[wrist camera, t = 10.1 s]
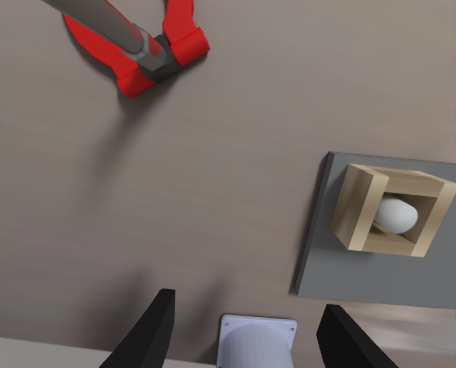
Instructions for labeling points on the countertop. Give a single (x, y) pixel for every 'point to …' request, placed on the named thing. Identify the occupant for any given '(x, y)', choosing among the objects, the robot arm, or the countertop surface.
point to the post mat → (379, 262)
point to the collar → (369, 201)
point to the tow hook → (134, 41)
